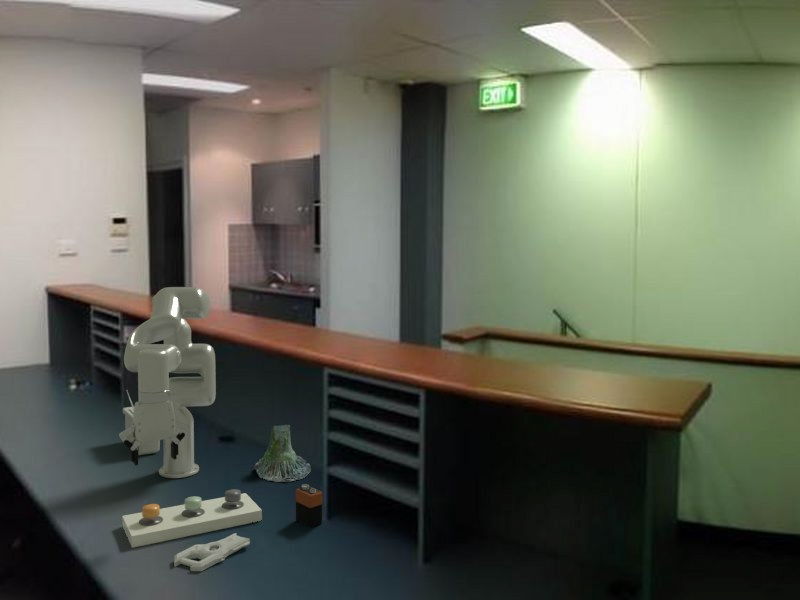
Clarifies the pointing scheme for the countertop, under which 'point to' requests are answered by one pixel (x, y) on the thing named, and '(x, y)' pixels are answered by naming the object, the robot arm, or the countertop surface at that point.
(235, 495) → the charcoal button
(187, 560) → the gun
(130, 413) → the stereo radio cassette player
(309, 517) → the battery
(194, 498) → the sage button
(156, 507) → the orange button
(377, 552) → the countertop surface
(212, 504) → the button panel
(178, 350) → the robot arm
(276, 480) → the tree stump
